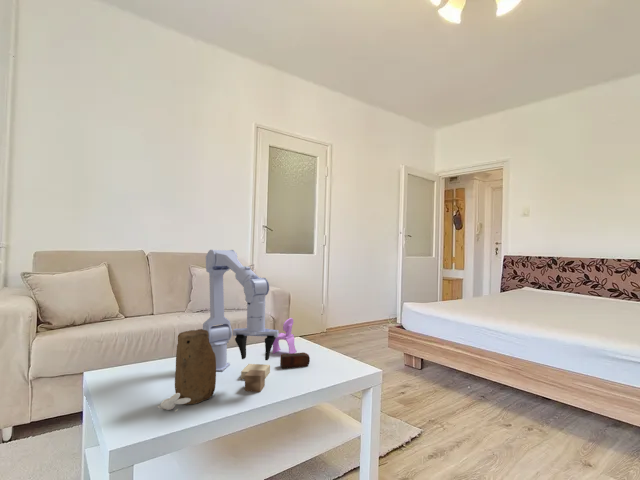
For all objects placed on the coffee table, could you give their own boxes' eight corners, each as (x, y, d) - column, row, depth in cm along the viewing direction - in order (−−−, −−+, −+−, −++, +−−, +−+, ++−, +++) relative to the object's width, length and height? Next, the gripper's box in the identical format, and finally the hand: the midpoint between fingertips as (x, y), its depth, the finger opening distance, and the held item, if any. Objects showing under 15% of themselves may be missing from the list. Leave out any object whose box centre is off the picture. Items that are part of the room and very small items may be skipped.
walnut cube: (244, 391, 109) (245, 375, 109) (249, 385, 114) (250, 369, 114) (260, 392, 108) (260, 376, 108) (264, 386, 113) (264, 370, 113)
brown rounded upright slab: (178, 408, 96) (180, 336, 97) (173, 398, 103) (174, 330, 103) (217, 399, 102) (218, 331, 103) (210, 390, 109) (211, 326, 109)
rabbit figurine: (167, 405, 99) (192, 393, 98) (167, 419, 96) (193, 407, 96) (152, 401, 94) (179, 388, 94) (153, 416, 91) (180, 403, 91)
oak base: (241, 380, 119) (241, 371, 119) (248, 372, 126) (248, 363, 127) (263, 381, 118) (264, 372, 118) (270, 373, 126) (270, 364, 126)
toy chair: (280, 348, 155) (280, 315, 155) (297, 351, 151) (298, 316, 152) (270, 354, 147) (270, 318, 148) (288, 356, 144) (289, 320, 144)
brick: (282, 369, 129) (282, 356, 129) (280, 366, 132) (280, 353, 132) (309, 366, 132) (310, 354, 132) (306, 363, 136) (306, 351, 136)
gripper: (229, 317, 108) (228, 361, 108) (275, 319, 107) (274, 363, 106) (237, 313, 115) (236, 354, 115) (280, 315, 114) (279, 356, 113)
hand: (255, 358), depth 111 cm, fingers open, 7 cm apart
